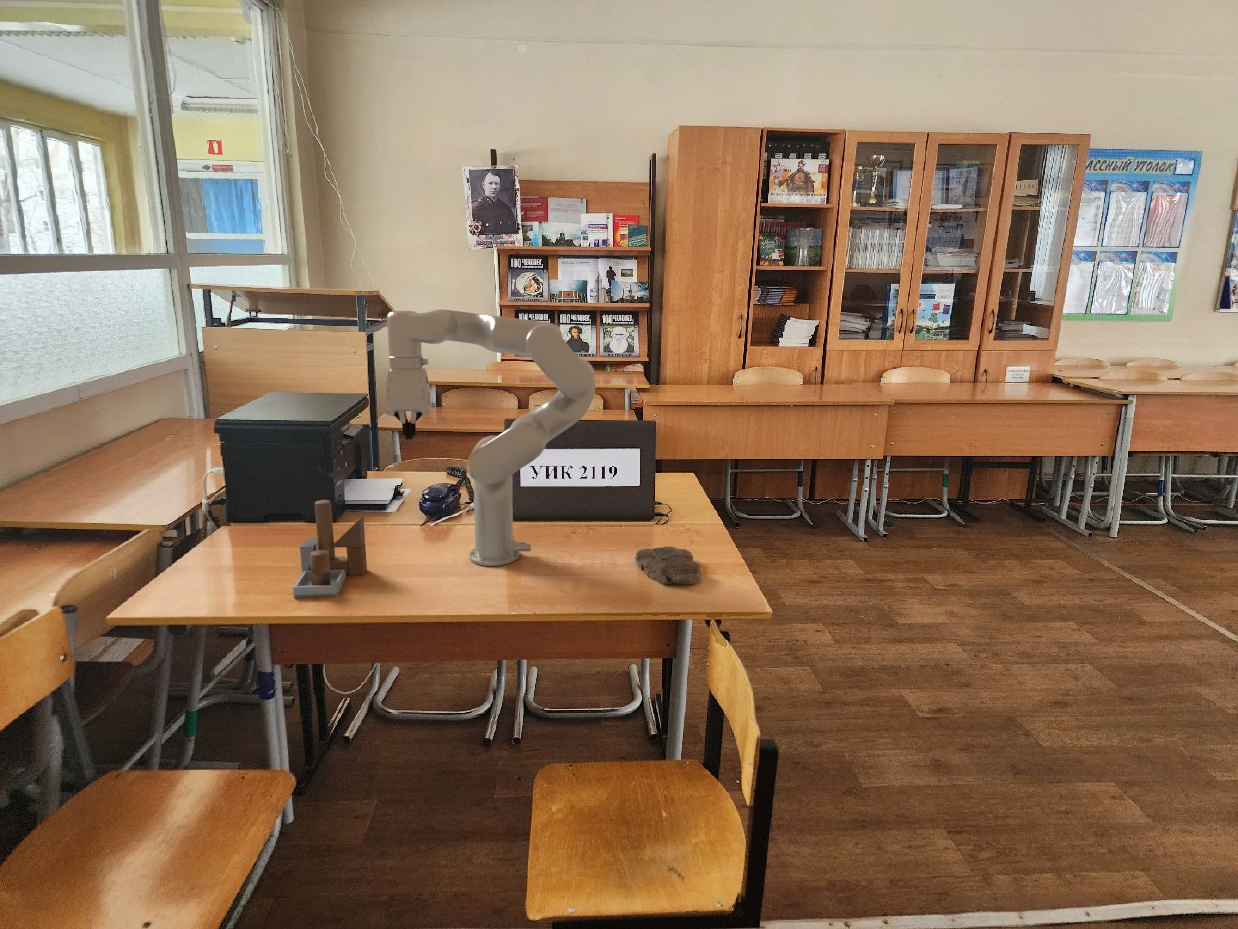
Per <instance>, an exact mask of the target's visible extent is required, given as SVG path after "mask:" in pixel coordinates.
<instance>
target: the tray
mask: <svg viewBox="0 0 1238 929" xmlns="http://www.w3.org/2000/svg"><path fill="white" fill-rule="evenodd" d="M346 576H347V575H345V570H330V585H318V586H312V582H311V571H304V572H303V574H302V573H301V575H300V576H299V578H298V580H297V581H296V583H295V584H294V585H293V587H292V592H293V598H297V599H298V598H324V597H325V598H326V597H327V598H328V597H338V595H339V594H340V591H341V590H342V588H343V586H344V584H345V582H346V580H347V578H346Z"/></svg>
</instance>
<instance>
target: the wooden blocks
mask: <svg viewBox="0 0 1238 929" xmlns="http://www.w3.org/2000/svg"><path fill="white" fill-rule="evenodd" d="M332 510H333V509H332V502H331V500H328V499H321V500H316V501H315V502H314V511H315V514H314V516H315V524H316V525H315V527H316V535H317V536H316V537H317V538H318V549H319V550H326V551H328V552H329V564H330V570H345V575H346V576H347V575H348V576H363V575H364V574H365V573H366V572H367V570H368V566H367V564H368V563H367V552H366V551H367V550H366V549H367V548H366V534H365V521H364V519H365V518H364V515H361V516H360V517H359V518H358V519H357V520H356V521H355V522H353V524H352V525H350V527H349V528H348V529H347V530H346V531H345V532H344V533H343V534H342V535H341V536H340V537H339V538H338V539H337V540H336V541H335V538H334V536H335V535H334V527H333V526H334V524H333V512H332ZM335 548H346V557H345V556H343V555H338V556H337V555H336V549H335Z"/></svg>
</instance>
